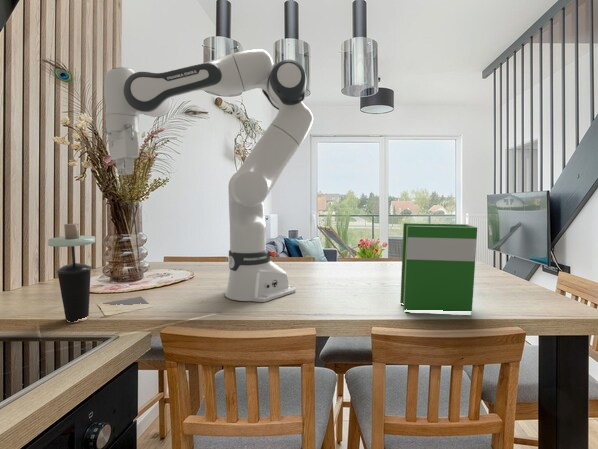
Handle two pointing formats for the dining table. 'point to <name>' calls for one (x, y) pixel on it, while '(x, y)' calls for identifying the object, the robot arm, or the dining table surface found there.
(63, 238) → the lid
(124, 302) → the mat
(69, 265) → the drinking cup
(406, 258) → the hardback book
